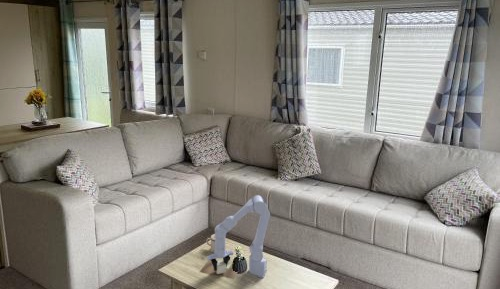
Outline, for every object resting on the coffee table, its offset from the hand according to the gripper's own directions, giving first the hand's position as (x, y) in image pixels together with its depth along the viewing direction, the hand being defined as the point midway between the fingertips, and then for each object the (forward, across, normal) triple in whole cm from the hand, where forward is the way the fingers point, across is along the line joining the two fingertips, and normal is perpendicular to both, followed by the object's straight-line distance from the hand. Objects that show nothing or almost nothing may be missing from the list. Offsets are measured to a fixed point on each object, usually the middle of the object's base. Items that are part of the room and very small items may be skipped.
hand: (220, 269), depth 219 cm
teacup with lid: (+3, -8, -26) cm, 27 cm away
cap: (+1, 0, 0) cm, 1 cm away
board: (+3, -2, -4) cm, 5 cm away
